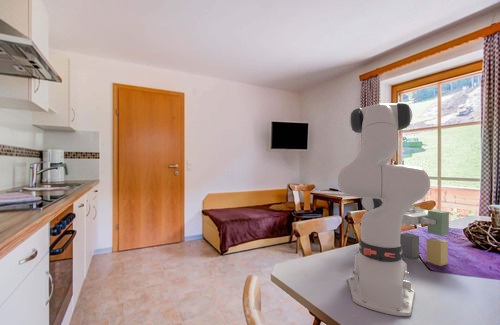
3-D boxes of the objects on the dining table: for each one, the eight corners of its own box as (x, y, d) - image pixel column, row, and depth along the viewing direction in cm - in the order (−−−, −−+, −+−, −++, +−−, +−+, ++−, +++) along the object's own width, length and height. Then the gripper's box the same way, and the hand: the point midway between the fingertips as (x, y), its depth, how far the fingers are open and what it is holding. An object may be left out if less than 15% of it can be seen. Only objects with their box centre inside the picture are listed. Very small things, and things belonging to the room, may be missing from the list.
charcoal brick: (418, 257, 102) (419, 236, 102) (411, 259, 100) (412, 237, 100) (406, 253, 107) (407, 232, 107) (399, 254, 104) (400, 234, 104)
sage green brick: (448, 234, 95) (448, 211, 95) (441, 236, 93) (441, 212, 93) (434, 231, 100) (434, 209, 100) (427, 232, 98) (427, 210, 98)
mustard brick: (447, 264, 95) (447, 241, 95) (440, 266, 93) (440, 242, 93) (433, 259, 100) (433, 237, 100) (426, 261, 98) (426, 239, 98)
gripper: (390, 209, 104) (425, 215, 91) (418, 206, 113) (454, 211, 100) (390, 223, 104) (425, 232, 91) (418, 219, 112) (454, 227, 100)
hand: (440, 221), depth 96 cm, fingers closed on sage green brick, 5 cm apart
